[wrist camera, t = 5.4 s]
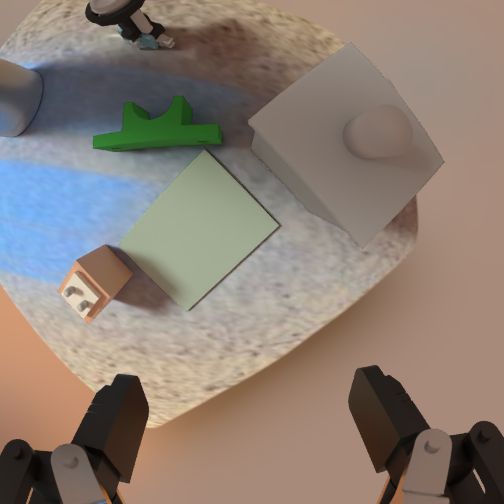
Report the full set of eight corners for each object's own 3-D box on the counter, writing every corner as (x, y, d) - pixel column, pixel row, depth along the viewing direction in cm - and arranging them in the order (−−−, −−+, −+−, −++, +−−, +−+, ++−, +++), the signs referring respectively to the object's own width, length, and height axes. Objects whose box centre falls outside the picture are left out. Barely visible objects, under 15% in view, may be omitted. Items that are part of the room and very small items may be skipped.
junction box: (246, 149, 24) (249, 103, 9) (303, 99, 23) (373, 17, 8) (309, 217, 26) (391, 269, 11) (362, 166, 25) (479, 164, 9)
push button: (188, 30, 20) (167, -25, 11) (159, 67, 21) (122, 22, 12) (141, 17, 19) (108, -30, 10) (114, 52, 20) (69, 14, 11)
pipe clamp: (223, 107, 23) (220, 93, 19) (222, 144, 24) (218, 137, 20) (115, 117, 23) (94, 108, 18) (113, 151, 24) (91, 148, 19)
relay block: (86, 271, 27) (48, 297, 19) (105, 244, 26) (66, 265, 19) (112, 299, 28) (81, 332, 20) (134, 273, 27) (102, 304, 20)
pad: (119, 244, 26) (118, 245, 26) (204, 149, 24) (204, 149, 24) (187, 310, 28) (186, 311, 28) (278, 225, 26) (279, 225, 26)
